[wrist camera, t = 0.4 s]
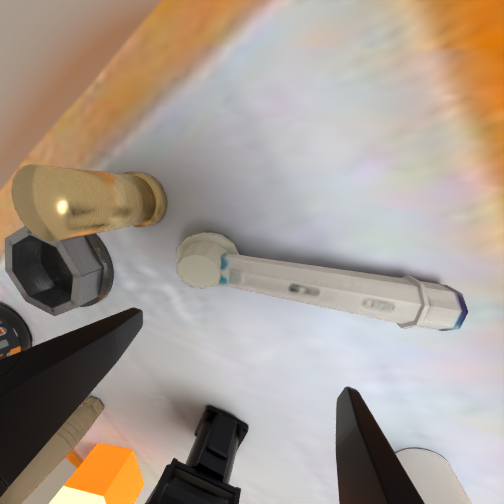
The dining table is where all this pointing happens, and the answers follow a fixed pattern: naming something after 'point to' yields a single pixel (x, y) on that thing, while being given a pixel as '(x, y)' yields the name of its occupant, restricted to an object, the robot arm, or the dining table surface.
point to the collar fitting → (58, 270)
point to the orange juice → (103, 478)
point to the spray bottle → (432, 477)
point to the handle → (53, 452)
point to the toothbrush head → (320, 285)
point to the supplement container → (12, 333)
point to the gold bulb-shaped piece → (84, 201)
